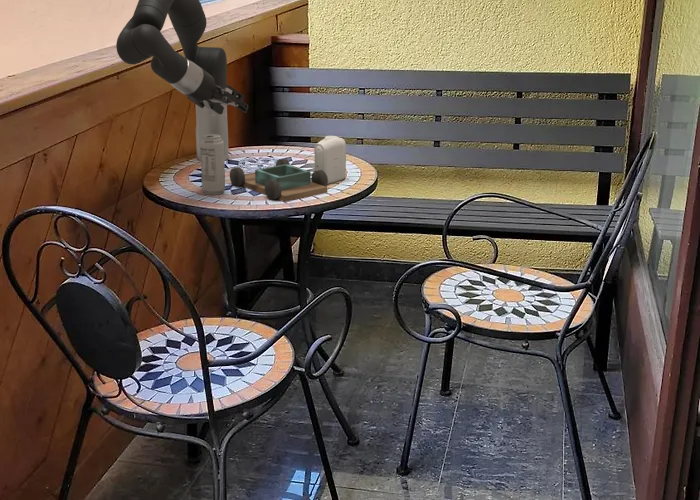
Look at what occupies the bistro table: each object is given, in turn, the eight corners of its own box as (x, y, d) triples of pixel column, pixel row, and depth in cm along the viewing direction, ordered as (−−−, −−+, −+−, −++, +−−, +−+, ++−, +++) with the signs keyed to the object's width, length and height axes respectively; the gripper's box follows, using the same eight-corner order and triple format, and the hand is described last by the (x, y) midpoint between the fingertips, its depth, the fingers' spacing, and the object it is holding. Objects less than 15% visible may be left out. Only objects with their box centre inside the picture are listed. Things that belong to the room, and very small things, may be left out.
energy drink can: (230, 192, 214) (228, 136, 208) (211, 196, 209) (209, 139, 204) (215, 187, 217) (213, 132, 212) (197, 191, 213) (194, 135, 208)
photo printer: (323, 186, 220) (324, 141, 216) (312, 183, 223) (312, 139, 219) (347, 179, 228) (348, 135, 224) (336, 176, 230) (336, 133, 226)
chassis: (226, 183, 222) (226, 165, 220) (276, 173, 232) (276, 156, 231) (280, 203, 205) (279, 184, 203) (331, 191, 216) (331, 173, 214)
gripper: (215, 63, 190) (258, 95, 203) (174, 68, 199) (217, 98, 211) (207, 91, 189) (251, 122, 201) (165, 95, 197) (210, 124, 210)
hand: (234, 110), depth 206 cm, fingers open, 8 cm apart
